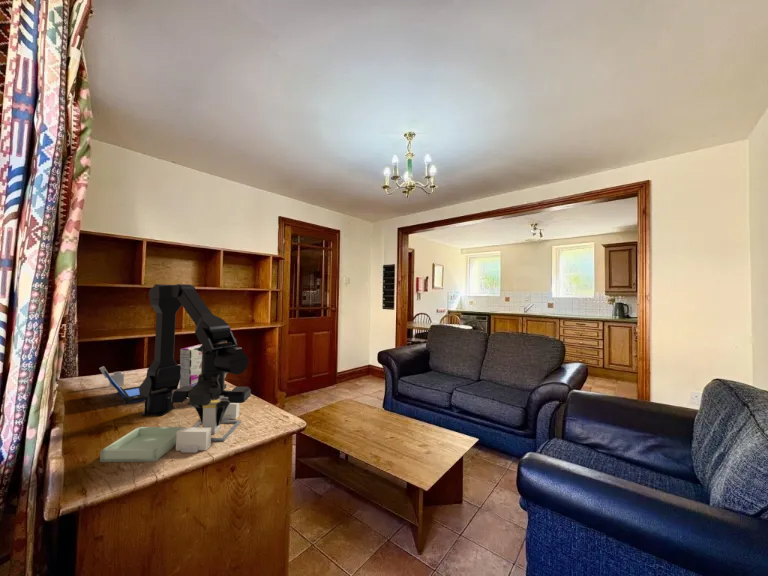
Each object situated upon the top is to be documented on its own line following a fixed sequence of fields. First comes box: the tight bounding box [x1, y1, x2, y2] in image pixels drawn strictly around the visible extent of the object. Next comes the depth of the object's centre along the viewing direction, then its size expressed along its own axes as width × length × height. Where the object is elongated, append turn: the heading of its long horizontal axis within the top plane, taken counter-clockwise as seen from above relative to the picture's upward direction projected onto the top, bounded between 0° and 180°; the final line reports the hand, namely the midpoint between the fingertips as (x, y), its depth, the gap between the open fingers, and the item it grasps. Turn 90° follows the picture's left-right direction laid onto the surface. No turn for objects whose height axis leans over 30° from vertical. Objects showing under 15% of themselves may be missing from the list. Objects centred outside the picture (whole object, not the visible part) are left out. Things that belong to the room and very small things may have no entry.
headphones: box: [175, 403, 242, 453], centre depth 85 cm, size 12×22×4 cm, turn 4°
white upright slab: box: [98, 365, 125, 388], centre depth 118 cm, size 7×2×8 cm, turn 133°
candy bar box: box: [179, 343, 202, 388], centre depth 118 cm, size 11×5×16 cm, turn 168°
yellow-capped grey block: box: [202, 399, 221, 435], centre depth 85 cm, size 3×3×8 cm
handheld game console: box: [104, 371, 145, 405], centre depth 108 cm, size 16×13×9 cm
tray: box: [99, 426, 183, 463], centre depth 75 cm, size 12×12×2 cm
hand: (211, 425), depth 85 cm, fingers closed on yellow-capped grey block, 3 cm apart
